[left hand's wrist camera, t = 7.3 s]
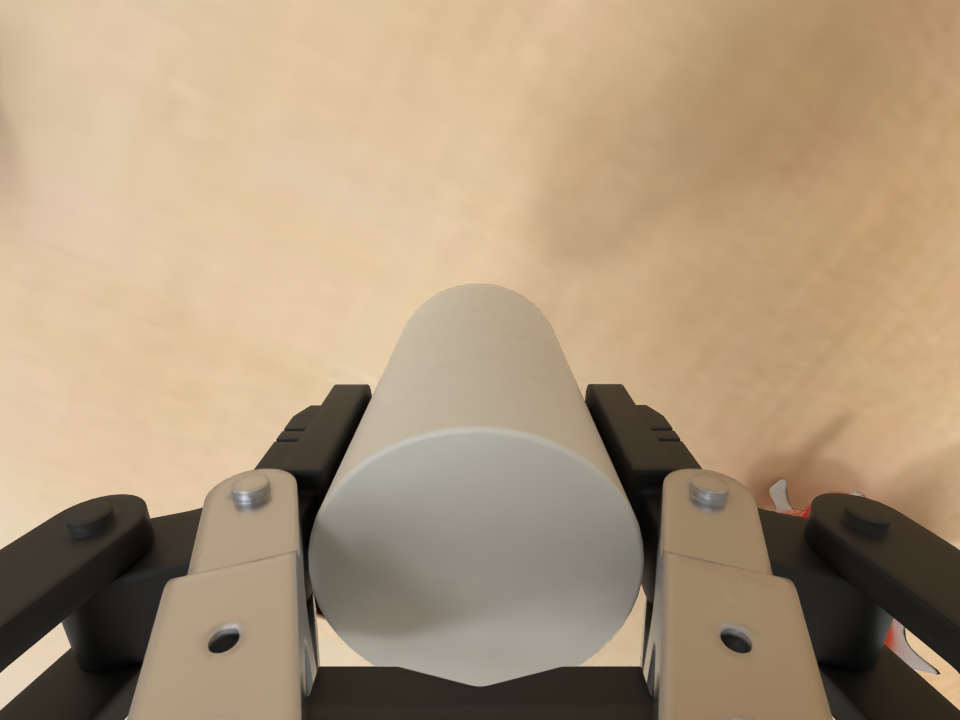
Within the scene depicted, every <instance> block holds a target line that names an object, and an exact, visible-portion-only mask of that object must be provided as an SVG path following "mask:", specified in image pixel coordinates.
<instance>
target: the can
mask: <svg viewBox="0 0 960 720" xmlns="http://www.w3.org/2000/svg"><path fill="white" fill-rule="evenodd" d="M308 561H309V574H310V579H311V584H312V589H313V592H314V595H315V597H316V600H317V602H318V605H319V607H320V609H321V611H322V613H323V614H324V616H325V618H326V620H327V622H328V623H329V624H330V625H331V627H332V628H333V629H334V631H335V632H336V633H337V635H338V636H339V637H340V638H341V639H342V640H343V641H344V642H345V643H346V644H347V645H348V646H349V647H350V648H351V649H352V650H354V651H355V652H356V653H357V654H359V655H360V656H361V657H363V658H364V659H365V660H367V661H368V662H370V663H371V664H373V665H375V666H376V667H402V668H405V669H409V670H413V671H417V672H421V673H425V674H429V675H433V676H437V677H441V678H444V679H448V680H452V681H456V682H460V683H464V684H468V685H472V686H488V685H492V684H496V683H500V682H504V681H508V680H512V679H516V678H519V677H523V676H527V675H531V674H535V673H539V672H543V671H547V670H551V669H555V668H558V667H577V666H578V665H580V664H582V663H583V662H585V661H586V660H588V659H589V658H590V657H592V656H593V655H594V654H596V653H597V652H598V651H599V650H600V649H602V648H603V647H604V646H605V645H606V644H607V643H608V642H609V641H610V640H611V639H612V638H613V637H614V635H615V634H616V633H617V632H618V631H619V629H620V628H621V627H622V625H623V624H624V622H625V621H626V619H627V617H628V616H629V614H630V613H631V611H632V608H633V606H634V604H635V601H636V599H637V597H638V594H639V590H640V586H641V582H642V577H643V567H644V549H643V539H642V535H641V531H640V527H639V523H638V521H637V519H636V516H635V514H634V512H633V510H632V507H631V505H630V503H629V500H628V498H627V496H626V494H625V491H624V489H623V487H622V485H621V482H620V480H619V478H618V476H617V473H616V471H615V469H614V466H613V464H612V462H611V460H610V457H609V455H608V453H607V451H606V448H605V446H604V444H603V442H602V439H601V437H600V435H599V433H598V430H597V428H596V426H595V424H594V421H593V419H592V417H591V414H590V412H589V410H588V408H587V405H586V403H585V401H584V399H583V396H582V394H581V392H580V390H579V387H578V385H577V383H576V381H575V378H574V376H573V374H572V371H571V369H570V367H569V365H568V362H567V360H566V358H565V356H564V353H563V351H562V349H561V347H560V344H559V342H558V340H557V338H556V335H555V333H554V331H553V329H552V326H551V325H550V323H549V321H548V320H547V318H546V317H545V316H544V314H543V313H542V312H541V311H540V310H539V309H538V308H537V307H536V306H535V305H534V304H533V303H532V302H531V301H529V300H528V299H526V298H525V297H523V296H522V295H520V294H518V293H516V292H514V291H512V290H509V289H506V288H504V287H500V286H495V285H490V284H467V285H461V286H456V287H453V288H450V289H447V290H445V291H442V292H440V293H438V294H436V295H435V296H433V297H431V298H430V299H428V300H427V301H426V302H425V303H423V304H422V305H421V306H420V307H419V308H418V309H417V310H416V311H415V312H414V313H413V315H412V316H411V317H410V319H409V320H408V322H407V323H406V325H405V327H404V329H403V332H402V334H401V336H400V338H399V340H398V342H397V344H396V346H395V349H394V351H393V353H392V355H391V357H390V359H389V361H388V364H387V366H386V368H385V370H384V372H383V374H382V376H381V379H380V381H379V383H378V385H377V387H376V389H375V391H374V394H373V396H372V398H371V400H370V402H369V404H368V406H367V409H366V411H365V413H364V415H363V417H362V419H361V421H360V424H359V426H358V428H357V430H356V432H355V434H354V437H353V439H352V441H351V443H350V445H349V447H348V449H347V452H346V454H345V456H344V458H343V460H342V462H341V464H340V467H339V469H338V471H337V473H336V475H335V477H334V479H333V482H332V484H331V486H330V488H329V490H328V492H327V494H326V497H325V499H324V501H323V503H322V505H321V507H320V509H319V512H318V514H317V516H316V518H315V521H314V525H313V528H312V531H311V535H310V542H309V550H308Z"/></svg>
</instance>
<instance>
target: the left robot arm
mask: <svg viewBox="0 0 960 720" xmlns="http://www.w3.org/2000/svg"><path fill="white" fill-rule="evenodd" d="M371 398H372V394H371V389H370V386H369V385H334V387H333V388H332V390H331V391H330V393H329V394H328V396H327V397H326V399H325V400H324V402H323V403H322V405H321V406H309V407H308V408H306V409H305V410H303V411H301V412H300V413H298V414H296V415H295V416H293V418H292V419H291V420H290V422H289V423H288V424H287V426H286V427H285V429H284V431H282V433H281V434H280V435H279V437H278V438H277V441H276V442H274V443H273V445H272V446H271V447H270V449H269V450H268V451H267V453H266V454H265V456H264V457H263V458H262V460H261V461H260V462H259V464H258V465H257V466H256V468H255V469H254V470H251V471H246V472H243V473H240V474H237V475H234V476H232V477H230V478H228V479H226V480H224V481H222V482H221V483H219V484H218V485H216V486H215V487H214V488H213V489H212V490H211V491H210V492H209V493H208V495H207V496H206V498H205V501H204V505H203V508H199V509H196V510H192V511H187V512H182V513H177V514H172V515H167V516H161V517H156V518H151V519H150V516H149V512H148V509H147V505H146V503H145V501H144V500H143V499H141V498H139V497H137V496H134V495H126V494H119V495H109V496H104V497H99V498H95V499H91V500H88V501H85V502H82V503H80V504H77V505H75V506H72V507H70V508H68V509H66V510H64V511H62V512H60V513H59V514H57V515H55V516H54V517H52V518H50V519H49V520H47V521H46V522H44V523H42V524H41V525H39V526H38V527H36V528H34V529H33V530H31V531H30V532H28V533H26V534H25V535H23V536H22V537H20V538H18V539H17V540H15V541H14V542H12V543H10V544H9V545H7V546H6V547H4V548H2V549H1V550H0V673H1V672H2V671H3V670H4V669H5V668H6V667H7V666H9V665H10V664H11V663H12V662H13V661H15V660H16V659H17V658H18V657H20V656H21V655H22V654H23V653H24V652H26V651H27V650H28V649H29V648H30V647H32V646H33V645H34V644H35V643H36V642H38V641H39V640H40V639H41V638H43V637H44V636H45V635H46V634H47V633H49V632H50V631H51V630H52V629H53V628H55V627H56V626H57V625H58V624H60V623H61V622H62V625H63V627H64V630H65V632H66V635H67V637H68V640H69V643H70V645H71V648H70V649H69V650H68V651H67V652H66V653H65V654H64V655H62V656H61V657H60V658H59V659H58V660H57V661H56V662H55V663H53V664H52V665H51V666H50V667H49V668H48V669H47V670H46V671H44V672H43V673H42V674H41V675H40V676H39V677H38V678H36V679H35V680H34V681H33V682H32V683H31V684H30V685H29V686H27V687H26V688H25V689H24V690H23V691H22V692H21V693H20V694H18V695H17V696H16V697H15V698H14V699H13V700H12V701H11V702H9V703H8V704H7V705H6V706H5V707H4V708H3V709H2V710H0V720H124V719H125V718H126V717H127V716H128V718H127V720H833V718H832V716H833V717H834V718H835V719H836V720H960V710H958V709H957V708H956V707H955V706H954V705H953V704H952V703H951V702H949V701H948V700H947V699H946V698H945V697H944V696H943V695H942V694H940V693H939V692H938V691H937V690H936V689H935V688H934V687H933V686H931V685H930V684H929V683H928V682H927V681H926V680H925V679H923V678H922V677H921V676H920V675H919V674H918V673H917V672H916V671H914V670H913V669H912V668H911V667H910V666H909V665H908V664H907V663H905V662H904V661H903V660H902V659H901V658H900V657H899V656H898V655H896V654H895V653H894V652H893V651H892V650H891V649H890V648H889V647H887V646H886V645H885V644H884V643H885V640H886V637H887V635H888V632H889V630H890V627H891V624H892V622H893V619H896V620H897V621H898V622H899V623H900V624H902V625H903V626H904V627H905V628H907V629H908V630H909V631H910V632H911V633H913V634H914V635H915V636H916V637H917V638H919V639H920V640H921V641H922V642H923V643H925V644H926V645H927V646H928V647H930V648H931V649H932V650H933V651H934V652H936V653H937V654H938V655H939V656H940V657H942V658H943V659H944V660H945V661H947V662H948V663H949V664H950V665H951V666H952V667H953V668H955V669H956V670H957V671H958V673H959V674H960V550H959V549H957V548H956V547H954V546H953V545H951V544H950V543H948V542H946V541H945V540H943V539H942V538H940V537H938V536H937V535H935V534H934V533H932V532H930V531H929V530H927V529H926V528H924V527H922V526H921V525H919V524H918V523H916V522H914V521H913V520H911V519H910V518H908V517H906V516H905V515H903V514H901V513H900V512H898V511H896V510H895V509H893V508H891V507H888V506H886V505H884V504H882V503H879V502H877V501H874V500H871V499H868V498H864V497H861V496H856V495H851V494H844V493H828V494H823V495H820V496H818V497H816V498H815V499H814V500H813V501H812V504H811V507H810V511H809V514H808V518H804V517H798V516H793V515H788V514H783V513H778V512H773V511H768V510H763V509H759V508H757V505H756V501H755V498H754V496H753V495H752V493H751V492H750V491H749V490H748V489H747V488H746V487H745V486H744V485H742V484H741V483H739V482H738V481H736V480H734V479H732V478H730V477H728V476H726V475H723V474H720V473H717V472H714V471H709V470H703V469H702V468H701V467H700V465H699V464H698V463H697V461H696V460H695V459H694V457H693V456H692V454H691V453H690V452H689V450H688V449H687V448H686V446H685V445H684V443H683V442H682V441H680V438H679V437H678V435H677V434H676V433H675V431H673V430H672V427H671V426H670V424H669V423H668V422H667V420H666V419H665V417H664V416H663V415H661V414H660V413H658V412H656V411H655V410H653V409H652V408H650V407H648V406H647V405H635V403H634V402H633V400H632V398H631V397H630V395H629V394H628V392H627V391H626V389H625V388H624V386H623V385H622V384H589V385H588V386H587V390H586V396H585V403H586V405H587V408H588V410H589V412H590V414H591V417H592V419H593V421H594V424H595V426H596V428H597V430H598V433H599V435H600V437H601V439H602V442H603V444H604V446H605V448H606V451H607V453H608V455H609V457H610V460H611V462H612V464H613V466H614V469H615V471H616V473H617V476H618V478H619V480H620V482H621V485H622V487H623V489H624V491H625V494H626V496H627V498H628V500H629V503H630V505H631V507H632V510H633V512H634V514H635V516H636V519H637V521H638V523H639V527H640V531H641V535H642V539H643V549H644V567H643V577H642V582H641V585H642V587H643V590H644V592H645V595H646V601H645V608H644V619H643V633H642V646H641V660H640V667H558V668H555V669H551V670H547V671H543V672H539V673H535V674H531V675H527V676H523V677H519V678H516V679H512V680H508V681H504V682H500V683H496V684H492V685H488V686H472V685H468V684H464V683H460V682H456V681H452V680H448V679H444V678H441V677H437V676H433V675H429V674H425V673H421V672H417V671H413V670H409V669H405V668H402V667H320V660H319V646H318V633H317V619H316V608H315V601H314V595H313V589H312V584H311V579H310V574H309V561H308V550H309V542H310V535H311V531H312V528H313V525H314V521H315V518H316V516H317V514H318V512H319V509H320V507H321V505H322V503H323V501H324V499H325V497H326V494H327V492H328V490H329V488H330V486H331V484H332V482H333V479H334V477H335V475H336V473H337V471H338V469H339V467H340V464H341V462H342V460H343V458H344V456H345V454H346V452H347V449H348V447H349V445H350V443H351V441H352V439H353V437H354V434H355V432H356V430H357V428H358V426H359V424H360V421H361V419H362V417H363V415H364V413H365V411H366V409H367V406H368V404H369V402H370V400H371Z"/></svg>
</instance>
